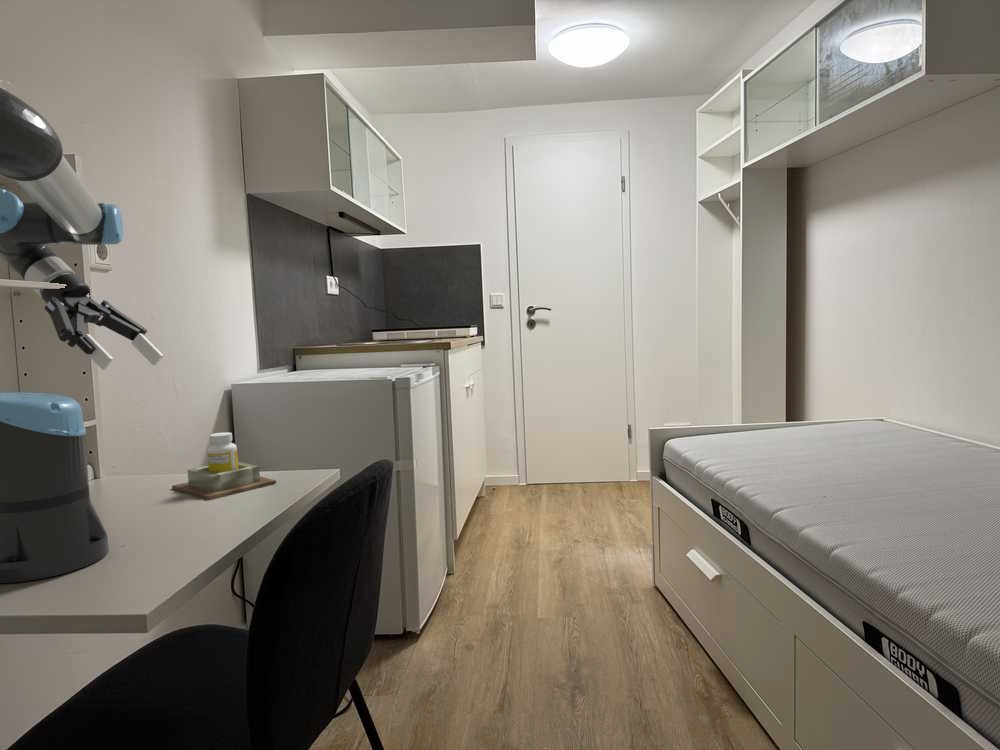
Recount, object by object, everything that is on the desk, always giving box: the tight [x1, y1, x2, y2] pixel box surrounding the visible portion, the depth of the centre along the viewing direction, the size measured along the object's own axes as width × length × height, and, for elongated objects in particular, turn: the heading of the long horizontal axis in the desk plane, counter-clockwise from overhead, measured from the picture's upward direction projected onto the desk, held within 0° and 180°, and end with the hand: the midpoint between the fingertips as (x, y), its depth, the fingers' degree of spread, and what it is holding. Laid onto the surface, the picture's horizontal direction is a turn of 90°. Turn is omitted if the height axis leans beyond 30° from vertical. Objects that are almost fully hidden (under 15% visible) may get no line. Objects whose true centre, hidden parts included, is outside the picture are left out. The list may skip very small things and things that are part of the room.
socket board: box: [171, 461, 277, 501], centre depth 129 cm, size 14×14×4 cm
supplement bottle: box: [206, 431, 239, 474], centre depth 129 cm, size 5×5×10 cm
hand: (134, 362), depth 125 cm, fingers open, 13 cm apart
